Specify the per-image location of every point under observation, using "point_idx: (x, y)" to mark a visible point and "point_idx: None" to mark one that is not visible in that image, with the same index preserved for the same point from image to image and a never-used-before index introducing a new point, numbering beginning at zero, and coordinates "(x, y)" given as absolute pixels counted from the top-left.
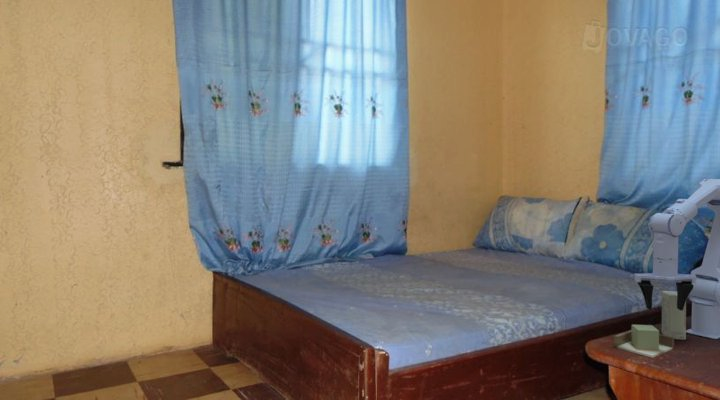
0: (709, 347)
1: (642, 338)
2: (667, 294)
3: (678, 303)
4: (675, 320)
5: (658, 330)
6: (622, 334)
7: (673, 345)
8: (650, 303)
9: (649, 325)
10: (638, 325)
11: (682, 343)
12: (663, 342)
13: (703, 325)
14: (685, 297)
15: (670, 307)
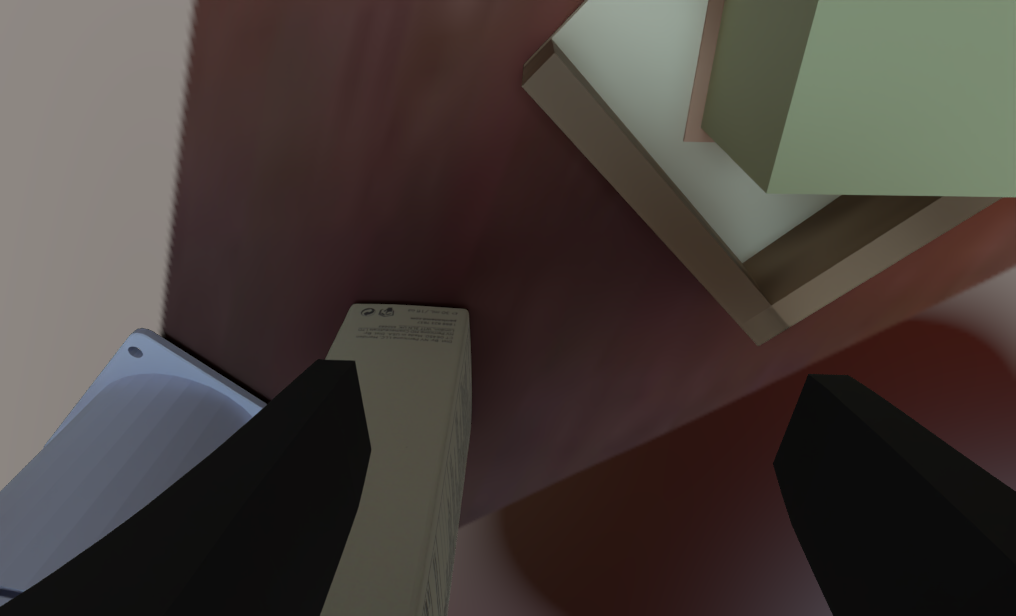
0: (210, 145)
1: None
2: None
3: (337, 494)
4: (396, 410)
5: None
6: None
7: (529, 64)
8: (915, 439)
9: (807, 177)
10: (966, 160)
11: (399, 225)
12: (607, 108)
13: (175, 438)
14: (141, 542)
15: (420, 531)
